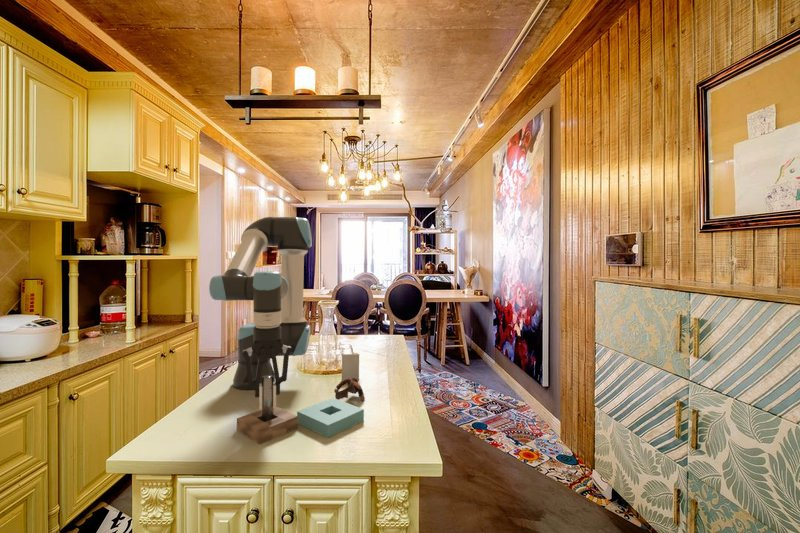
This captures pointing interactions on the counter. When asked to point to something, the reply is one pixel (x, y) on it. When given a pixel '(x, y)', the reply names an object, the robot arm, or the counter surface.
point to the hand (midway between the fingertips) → (267, 406)
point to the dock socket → (330, 417)
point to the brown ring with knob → (349, 389)
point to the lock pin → (267, 398)
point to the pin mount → (266, 425)
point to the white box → (350, 366)
